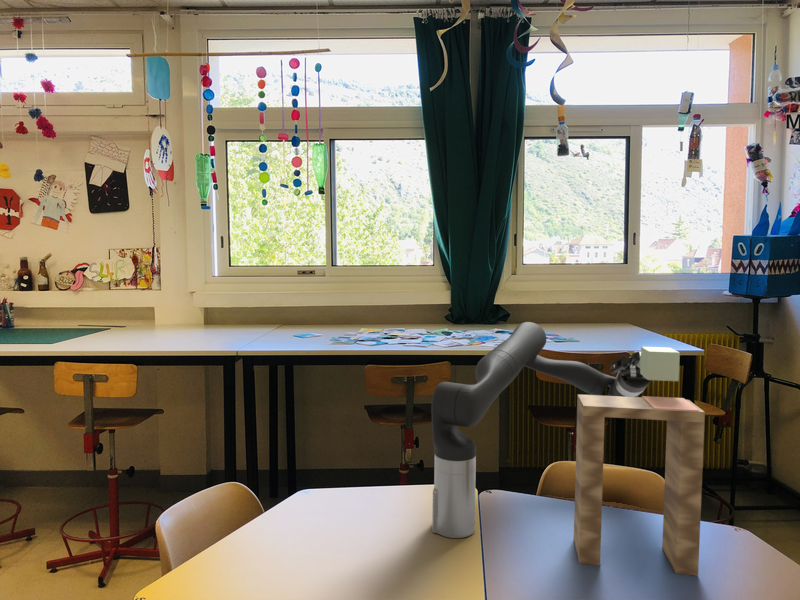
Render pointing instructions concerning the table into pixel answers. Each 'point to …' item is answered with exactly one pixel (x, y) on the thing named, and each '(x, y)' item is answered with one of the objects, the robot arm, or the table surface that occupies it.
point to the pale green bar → (659, 363)
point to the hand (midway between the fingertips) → (647, 355)
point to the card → (669, 403)
